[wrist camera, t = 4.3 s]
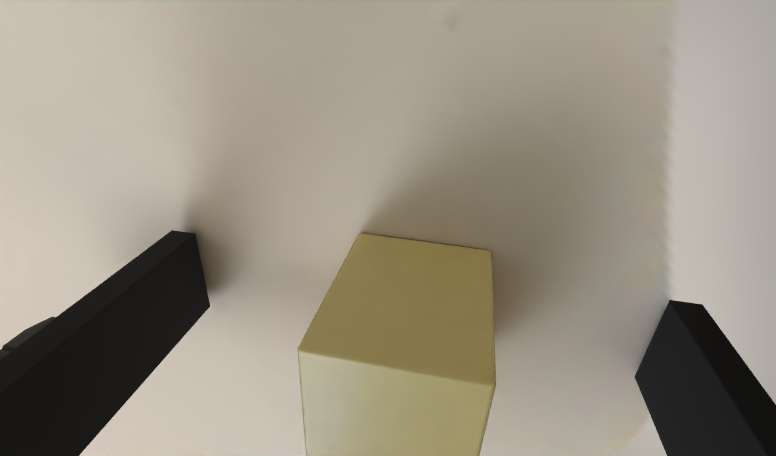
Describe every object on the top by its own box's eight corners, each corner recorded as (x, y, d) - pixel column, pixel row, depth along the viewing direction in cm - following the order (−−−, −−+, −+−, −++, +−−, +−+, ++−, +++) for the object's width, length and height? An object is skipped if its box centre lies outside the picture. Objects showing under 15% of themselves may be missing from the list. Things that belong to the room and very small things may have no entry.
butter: (470, 360, 13) (466, 514, 9) (356, 340, 14) (306, 478, 10) (491, 249, 11) (497, 385, 7) (358, 231, 12) (295, 348, 8)
